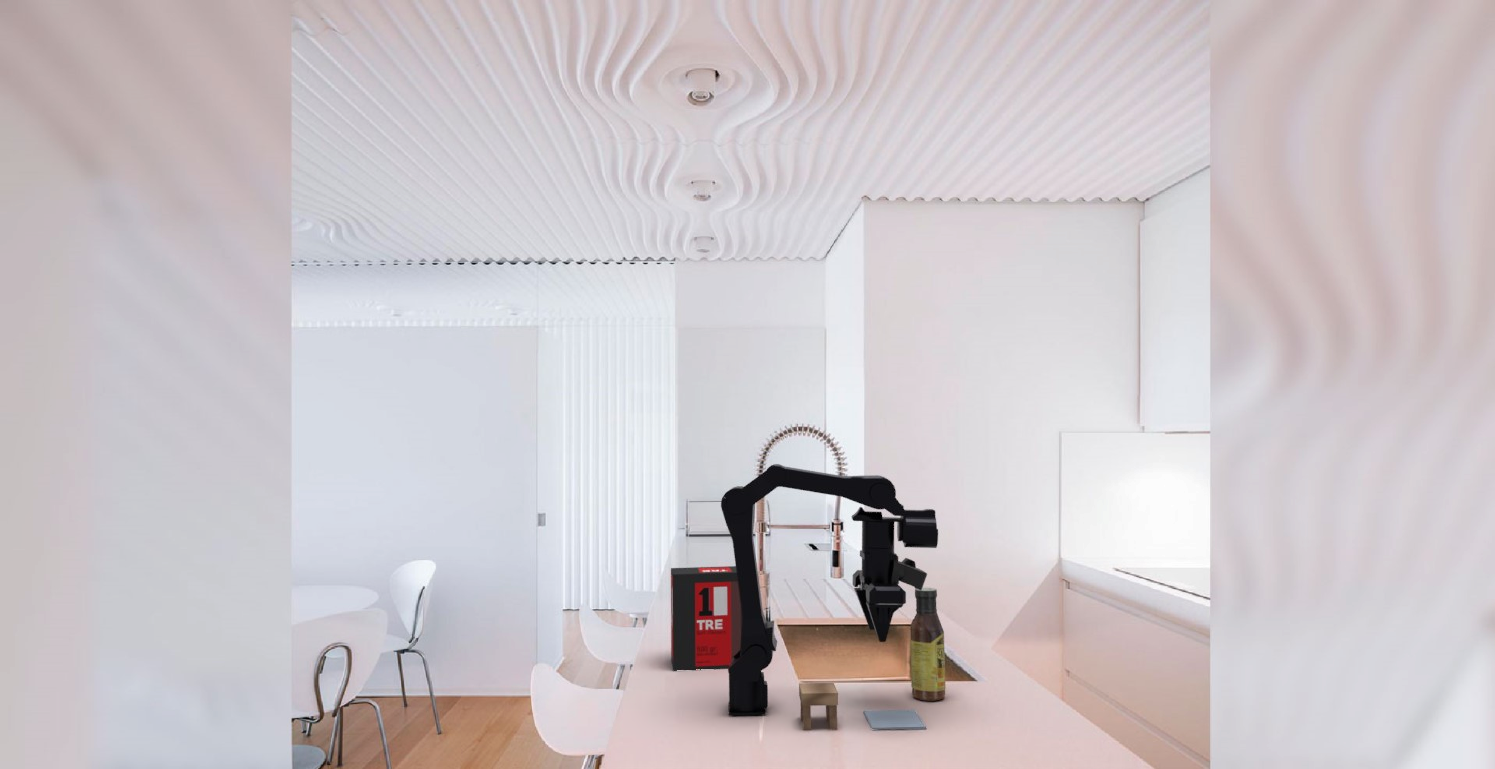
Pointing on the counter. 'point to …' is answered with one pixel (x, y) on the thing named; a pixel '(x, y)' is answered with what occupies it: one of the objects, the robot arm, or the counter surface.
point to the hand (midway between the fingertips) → (877, 635)
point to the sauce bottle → (927, 648)
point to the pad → (894, 719)
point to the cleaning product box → (704, 617)
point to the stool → (818, 702)
